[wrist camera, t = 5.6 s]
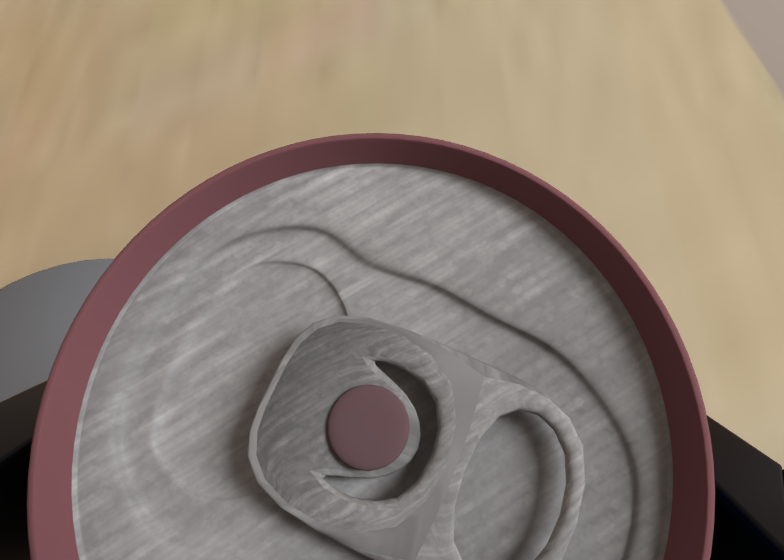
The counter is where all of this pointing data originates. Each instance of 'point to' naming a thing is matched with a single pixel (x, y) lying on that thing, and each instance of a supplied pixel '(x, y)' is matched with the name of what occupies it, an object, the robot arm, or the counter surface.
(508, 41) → the counter surface
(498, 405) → the soda can
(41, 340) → the rubber mat
